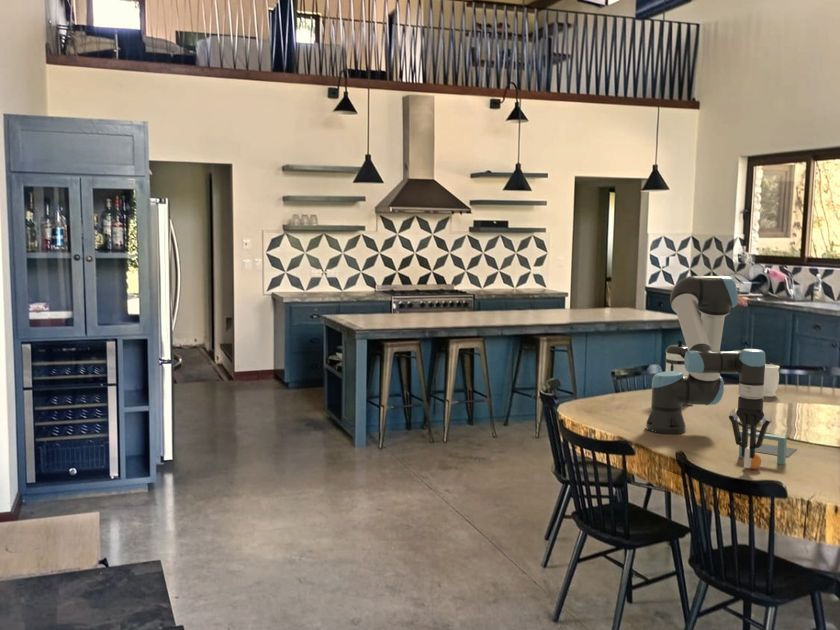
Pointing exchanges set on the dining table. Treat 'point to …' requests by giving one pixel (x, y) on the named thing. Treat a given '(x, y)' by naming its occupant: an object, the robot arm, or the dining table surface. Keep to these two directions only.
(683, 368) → the coffee press
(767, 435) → the bridge
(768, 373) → the jar
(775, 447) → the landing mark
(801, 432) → the dining table surface
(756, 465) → the ball
